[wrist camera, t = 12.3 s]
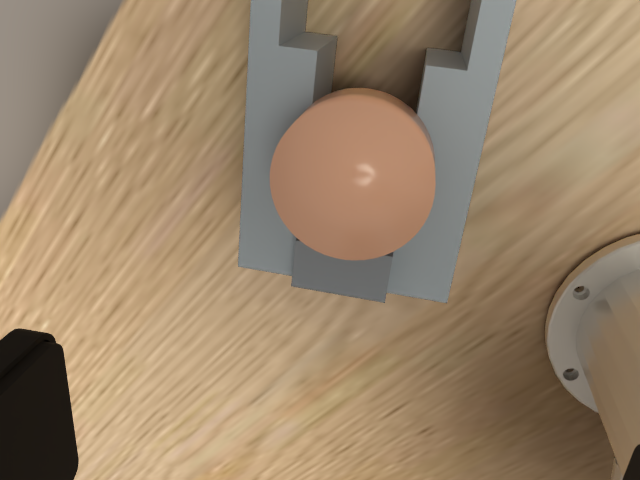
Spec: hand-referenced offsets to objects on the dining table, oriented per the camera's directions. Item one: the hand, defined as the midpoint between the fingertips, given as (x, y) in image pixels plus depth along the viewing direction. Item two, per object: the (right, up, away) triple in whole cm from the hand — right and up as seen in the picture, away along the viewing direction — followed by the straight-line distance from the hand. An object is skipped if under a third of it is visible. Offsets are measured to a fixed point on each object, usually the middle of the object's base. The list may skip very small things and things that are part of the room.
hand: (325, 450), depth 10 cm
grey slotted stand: (+3, +11, +22) cm, 25 cm away
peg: (+3, +9, +22) cm, 24 cm away
